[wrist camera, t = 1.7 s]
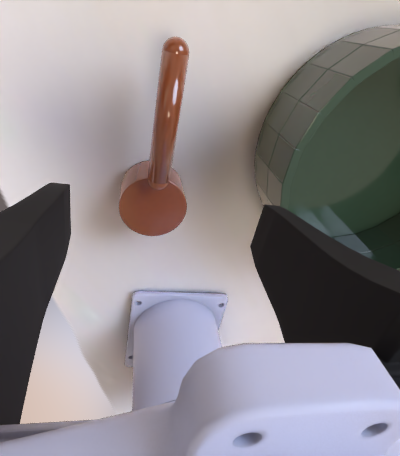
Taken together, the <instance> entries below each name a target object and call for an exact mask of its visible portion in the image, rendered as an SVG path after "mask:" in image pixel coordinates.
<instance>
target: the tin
mask: <svg viewBox="0 0 400 456" xmlns="http://www.w3.org/2000/svg"><path fill="white" fill-rule="evenodd" d="M254 167H255V180H256V186H257V190H258V193H259V196H260V199H261V201H262V204H263V206H264V205H265V204H266V205H276V206H281V207H283V208H285V209H287V210H288V211H290V212H292V213H293V214H295V215H297V216H298V217H300V218H301V219H303V220H304V221H306V222H307V223H309V224H310V225H312V226H313V227H315V228H317V229H318V230H320V231H321V232H323V233H324V234H326V235H328V236H329V237H331V238H333V239H334V240H336V241H338V242H340V243H341V244H343V245H345V246H347V247H348V248H350V249H352V250H354V251H356V252H358V253H360V254H362V255H364V256H366V257H368V258H370V259H373V260H375V261H377V262H379V263H382V264H384V265H386V266H389V267H391V268H394V269H396V270H399V271H400V25H384V26H378V27H372V28H368V29H365V30H362V31H359V32H356V33H353V34H351V35H348V36H346V37H344V38H342V39H340V40H338V41H336V42H334V43H333V44H331V45H330V46H328V47H326V48H325V49H323V50H322V51H320V52H319V53H318V54H317V55H315V56H314V57H313V58H312V59H310V60H309V61H308V62H307V63H306V64H305V65H304V66H303V67H302V68H301V69H300V70H299V71H298V72H297V73H296V74H295V75H294V76H293V77H292V78H291V79H290V80H289V82H288V83H287V84H286V85H285V87H284V88H283V89H282V90H281V92H280V94H279V95H278V97H277V98H276V100H275V101H274V103H273V105H272V106H271V108H270V110H269V112H268V114H267V116H266V118H265V121H264V123H263V126H262V129H261V132H260V135H259V138H258V143H257V147H256V153H255V163H254Z"/></svg>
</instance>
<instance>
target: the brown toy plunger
mask: <svg viewBox="0 0 400 456" xmlns="http://www.w3.org/2000/svg"><path fill="white" fill-rule="evenodd" d="M188 59H189V48H188V45H187V43H186V42H185V41H184V40H183V39H182V38H180V37H171V38H169V39H167V40H166V42H165V43H164V45H163V48H162V56H161V65H160V73H159V82H158V91H157V99H156V108H155V116H154V125H153V134H152V142H151V151H150V159H149V161H143V162H140V163H138V164H135V165H134V166H132V167H131V168H130V169H129V170H128V171H127V172H126V173H125V175H124V177H123V179H122V182H121V189H120V199H119V213H120V216H121V218H122V220H123V221H124V223H125V224H126V225H127V226H128V227H129V228H130V229H132V230H133V231H135V232H137V233H139V234H142V235H147V236H158V235H163V234H166V233H168V232H170V231H172V230H174V229H175V228H176V227H177V226H178V225H179V224H180V223H181V222H182V220H183V219H184V217H185V214H186V209H187V203H186V198H185V194H184V190H183V186H182V182H181V179H180V177H179V175H178V173H177V172H176V171H175V170H174V169H173V168H172V161H173V155H174V149H175V142H176V136H177V129H178V123H179V116H180V110H181V104H182V97H183V91H184V84H185V78H186V72H187V65H188Z"/></svg>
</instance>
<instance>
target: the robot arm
mask: <svg viewBox="0 0 400 456" xmlns="http://www.w3.org/2000/svg"><path fill="white" fill-rule="evenodd" d="M70 236H71V219H70V185H69V184H59V183H49V184H47V185H45V186H44V187H42V188H41V189H39V190H38V191H36V192H34V193H33V194H31V195H30V196H28V197H26V198H25V199H23V200H21V201H20V202H18V203H16V204H15V205H13V206H11V207H9V208H7V209H5V210H4V211H2V212H0V456H400V271H399V270H396V269H394V268H391V267H389V266H386V265H384V264H382V263H379V262H377V261H375V260H373V259H370V258H368V257H366V256H364V255H362V254H360V253H358V252H356V251H354V250H352V249H350V248H348V247H347V246H345V245H343V244H341V243H340V242H338V241H336V240H334V239H333V238H331V237H329V236H328V235H326V234H324V233H323V232H321V231H320V230H318V229H317V228H315V227H313V226H312V225H310V224H309V223H307V222H306V221H304V220H303V219H301V218H300V217H298V216H297V215H295V214H293V213H292V212H290V211H288V210H287V209H285V208H283V207H281V206H276V205H266V204H265V205H264V208H263V211H262V214H261V216H260V219H259V222H258V225H257V228H256V231H255V234H254V237H253V240H252V243H251V246H250V247H251V251H252V255H253V259H254V263H255V267H256V269H257V272H258V274H259V277H260V279H261V281H262V284H263V286H264V288H265V291H266V293H267V295H268V297H269V300H270V302H271V304H272V307H273V309H274V311H275V314H276V316H277V319H278V322H279V325H280V328H281V331H282V334H283V338H284V341H285V343H243V344H238V345H232V346H226V347H222V344H221V340H220V336H219V332H218V330H219V327H220V324H221V320H222V317H223V314H224V311H225V308H226V305H227V302H228V297H227V295H226V294H215V293H183V292H152V291H137V292H134V293H133V295H132V304H131V312H130V321H129V330H128V339H127V348H126V356H125V365H126V366H127V367H133V401H132V411H131V412H127V413H123V414H118V415H114V416H110V417H106V418H102V419H97V420H83V421H66V422H48V423H30V424H20V419H21V414H22V409H23V405H24V400H25V396H26V391H27V386H28V382H29V377H30V372H31V368H32V364H33V360H34V355H35V351H36V347H37V343H38V338H39V334H40V330H41V326H42V322H43V318H44V315H45V312H46V309H47V306H48V303H49V301H50V298H51V296H52V293H53V290H54V288H55V285H56V283H57V280H58V277H59V275H60V272H61V269H62V266H63V264H64V261H65V258H66V254H67V250H68V245H69V240H70ZM136 301H140V302H136ZM220 303H221V304H220Z"/></svg>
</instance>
